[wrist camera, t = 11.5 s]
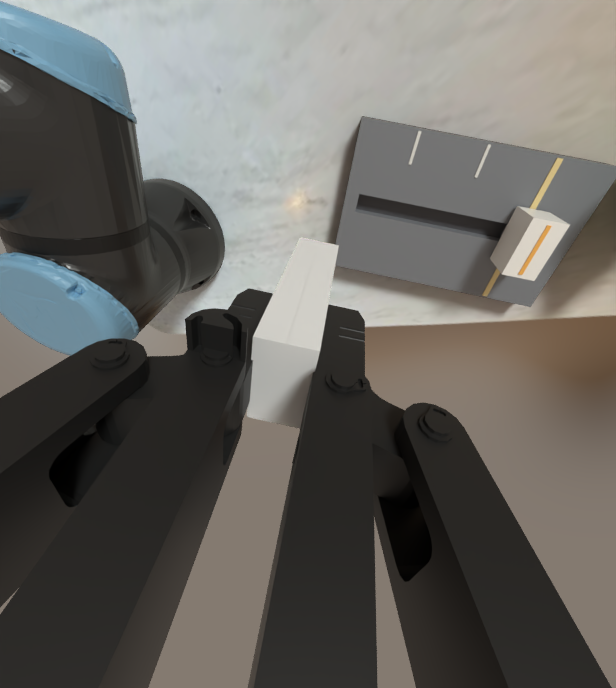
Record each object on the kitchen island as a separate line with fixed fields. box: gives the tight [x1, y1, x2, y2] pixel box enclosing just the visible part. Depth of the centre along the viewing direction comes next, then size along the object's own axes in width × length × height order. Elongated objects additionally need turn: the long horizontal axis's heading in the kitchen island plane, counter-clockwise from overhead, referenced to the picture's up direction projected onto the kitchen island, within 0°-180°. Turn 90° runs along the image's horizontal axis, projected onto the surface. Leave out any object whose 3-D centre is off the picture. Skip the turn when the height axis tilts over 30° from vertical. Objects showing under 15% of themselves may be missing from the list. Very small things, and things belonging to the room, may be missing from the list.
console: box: [335, 116, 616, 307], centre depth 38 cm, size 26×16×3 cm, turn 81°
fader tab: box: [490, 206, 570, 281], centre depth 35 cm, size 4×6×6 cm, turn 171°
